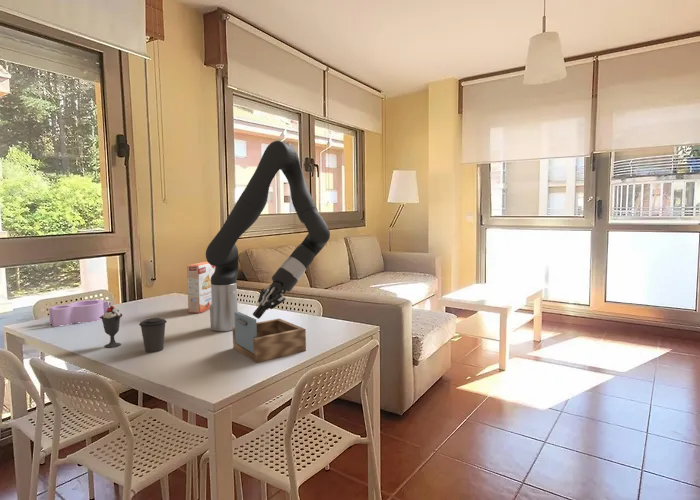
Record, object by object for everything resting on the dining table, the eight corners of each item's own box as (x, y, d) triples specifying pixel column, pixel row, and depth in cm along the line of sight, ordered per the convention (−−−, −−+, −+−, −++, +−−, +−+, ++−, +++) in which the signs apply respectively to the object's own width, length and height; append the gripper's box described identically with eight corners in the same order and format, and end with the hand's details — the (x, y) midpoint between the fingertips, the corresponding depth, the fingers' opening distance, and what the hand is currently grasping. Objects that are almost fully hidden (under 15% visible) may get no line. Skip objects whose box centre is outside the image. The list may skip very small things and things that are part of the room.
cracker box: (200, 313, 188) (198, 265, 186) (187, 313, 190) (185, 265, 187) (216, 306, 202) (215, 261, 200) (204, 305, 203) (203, 261, 201)
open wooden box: (279, 338, 152) (279, 318, 152) (305, 350, 139) (305, 329, 138) (233, 348, 142) (232, 327, 141) (256, 362, 129) (255, 339, 128)
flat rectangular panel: (238, 341, 141) (237, 311, 140) (257, 352, 131) (256, 319, 130) (232, 343, 140) (231, 312, 139) (250, 354, 129) (249, 320, 128)
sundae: (108, 350, 141) (105, 304, 139) (97, 346, 144) (94, 301, 143) (128, 344, 146) (125, 300, 145) (116, 341, 150) (114, 298, 149)
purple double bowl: (57, 328, 167) (56, 311, 166) (46, 323, 175) (45, 306, 174) (112, 318, 182) (111, 301, 182) (100, 313, 190) (99, 298, 189)
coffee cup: (140, 355, 136) (138, 323, 135) (140, 347, 143) (139, 317, 142) (168, 351, 139) (166, 321, 138) (167, 344, 146) (166, 315, 145)
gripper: (271, 264, 146) (238, 306, 140) (292, 268, 136) (257, 313, 129) (286, 278, 150) (254, 319, 144) (307, 283, 140) (273, 328, 133)
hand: (255, 316), depth 137 cm, fingers closed
